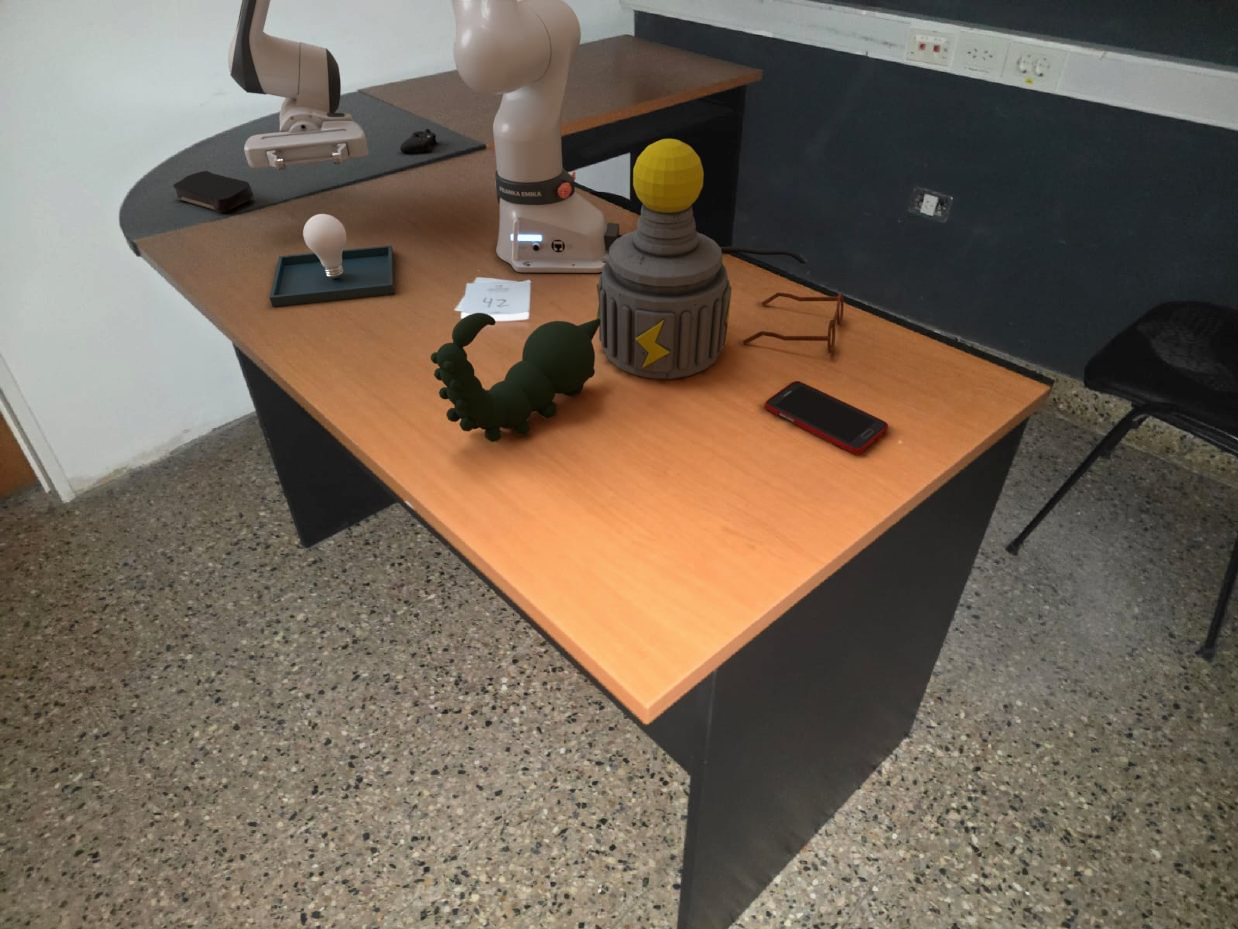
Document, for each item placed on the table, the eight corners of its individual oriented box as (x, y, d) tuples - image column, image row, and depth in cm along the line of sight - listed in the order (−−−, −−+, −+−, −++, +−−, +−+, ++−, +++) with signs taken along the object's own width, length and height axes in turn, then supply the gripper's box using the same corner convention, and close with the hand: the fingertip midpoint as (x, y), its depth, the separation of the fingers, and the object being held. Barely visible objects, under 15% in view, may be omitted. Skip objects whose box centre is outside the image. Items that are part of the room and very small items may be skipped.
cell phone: (857, 457, 98) (859, 451, 97) (761, 408, 105) (762, 402, 105) (889, 429, 102) (891, 424, 101) (794, 384, 110) (795, 378, 109)
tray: (393, 253, 141) (391, 245, 140) (394, 293, 130) (392, 284, 129) (281, 265, 138) (279, 255, 137) (272, 306, 127) (269, 297, 126)
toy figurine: (488, 479, 98) (628, 382, 109) (456, 354, 84) (619, 260, 96) (443, 445, 103) (582, 356, 114) (406, 323, 89) (567, 236, 101)
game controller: (411, 135, 187) (425, 117, 184) (429, 152, 189) (443, 135, 186) (397, 149, 180) (411, 131, 177) (415, 167, 182) (430, 149, 179)
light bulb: (339, 265, 138) (323, 204, 130) (364, 275, 135) (349, 213, 128) (307, 280, 134) (289, 217, 126) (332, 291, 131) (316, 227, 123)
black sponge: (260, 201, 160) (255, 183, 157) (225, 216, 154) (219, 197, 152) (208, 186, 166) (201, 169, 164) (172, 200, 161) (165, 182, 158)
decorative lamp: (719, 390, 109) (740, 172, 89) (586, 376, 112) (578, 162, 92) (729, 321, 123) (750, 121, 104) (611, 311, 126) (609, 113, 106)
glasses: (830, 361, 114) (836, 331, 111) (742, 344, 118) (745, 315, 115) (843, 317, 124) (849, 289, 121) (761, 303, 127) (765, 275, 124)
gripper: (239, 123, 138) (237, 149, 128) (359, 112, 143) (366, 136, 133) (250, 160, 142) (249, 188, 132) (366, 147, 147) (373, 173, 137)
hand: (309, 162), depth 133 cm, fingers open, 8 cm apart
